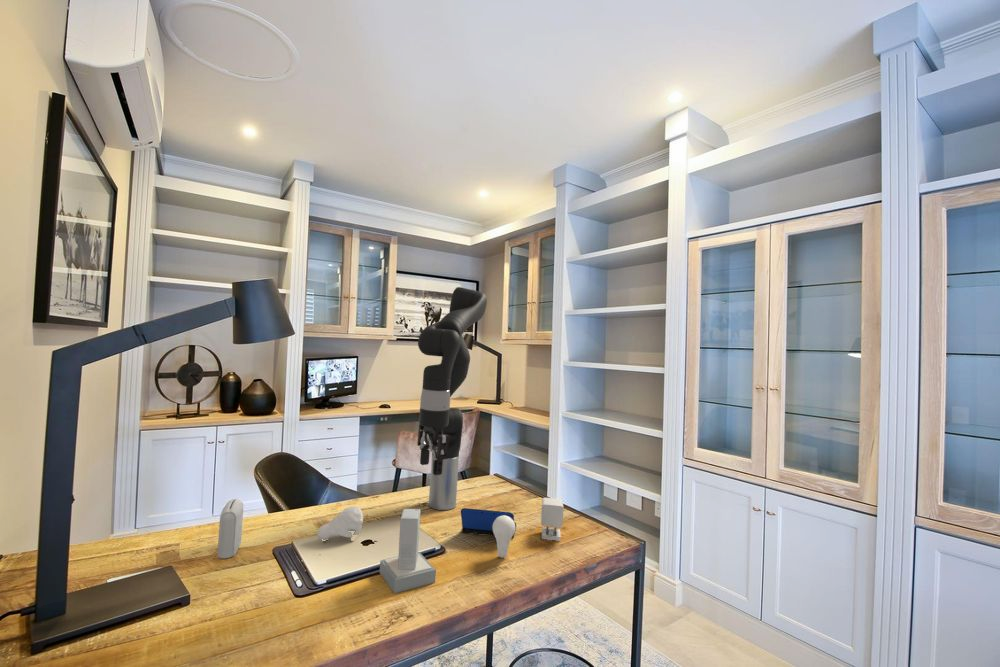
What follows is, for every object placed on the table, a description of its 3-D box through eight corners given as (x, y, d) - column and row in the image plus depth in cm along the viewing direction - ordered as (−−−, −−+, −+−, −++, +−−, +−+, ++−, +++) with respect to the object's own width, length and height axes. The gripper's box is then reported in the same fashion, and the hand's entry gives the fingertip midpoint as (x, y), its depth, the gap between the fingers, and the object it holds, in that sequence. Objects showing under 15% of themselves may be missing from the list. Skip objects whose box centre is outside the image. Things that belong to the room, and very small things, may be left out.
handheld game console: (516, 527, 142) (518, 497, 142) (512, 546, 128) (514, 513, 129) (467, 521, 144) (469, 492, 144) (458, 539, 130) (460, 507, 131)
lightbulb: (516, 555, 123) (518, 514, 123) (509, 565, 117) (512, 522, 117) (495, 550, 125) (497, 510, 125) (487, 560, 119) (489, 518, 119)
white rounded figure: (364, 509, 126) (317, 519, 120) (365, 539, 126) (319, 551, 120) (360, 501, 131) (315, 510, 126) (361, 530, 131) (316, 540, 126)
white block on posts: (561, 531, 140) (562, 499, 140) (561, 541, 133) (563, 507, 133) (540, 529, 140) (542, 497, 140) (540, 539, 133) (542, 505, 133)
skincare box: (400, 557, 111) (403, 508, 111) (418, 557, 111) (421, 508, 111) (396, 570, 105) (400, 518, 105) (415, 570, 105) (418, 518, 105)
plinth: (379, 572, 110) (380, 559, 110) (418, 563, 115) (419, 550, 115) (394, 593, 101) (395, 578, 101) (435, 582, 107) (435, 568, 107)
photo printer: (224, 541, 121) (227, 495, 121) (242, 540, 122) (245, 494, 122) (215, 560, 111) (218, 509, 111) (234, 558, 112) (238, 508, 112)
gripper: (460, 411, 112) (455, 476, 112) (437, 401, 124) (433, 459, 124) (432, 412, 108) (427, 480, 108) (411, 401, 120) (406, 462, 120)
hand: (430, 469), depth 116 cm, fingers open, 8 cm apart
